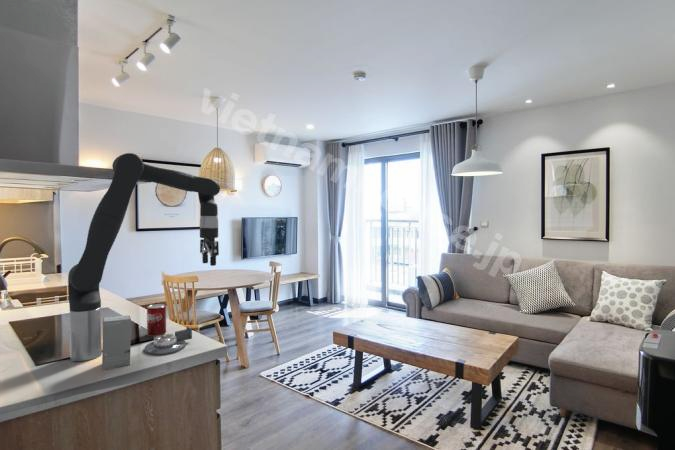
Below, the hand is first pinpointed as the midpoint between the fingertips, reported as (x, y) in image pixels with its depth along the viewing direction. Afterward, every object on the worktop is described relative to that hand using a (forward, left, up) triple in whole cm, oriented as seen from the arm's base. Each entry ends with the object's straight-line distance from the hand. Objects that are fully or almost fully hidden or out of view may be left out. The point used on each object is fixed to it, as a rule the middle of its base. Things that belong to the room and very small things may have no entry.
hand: (209, 264), depth 162 cm
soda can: (-19, +10, -29) cm, 36 cm away
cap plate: (-21, -9, -29) cm, 37 cm away
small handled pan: (-18, -9, -28) cm, 34 cm away
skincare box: (-38, -14, -29) cm, 50 cm away
